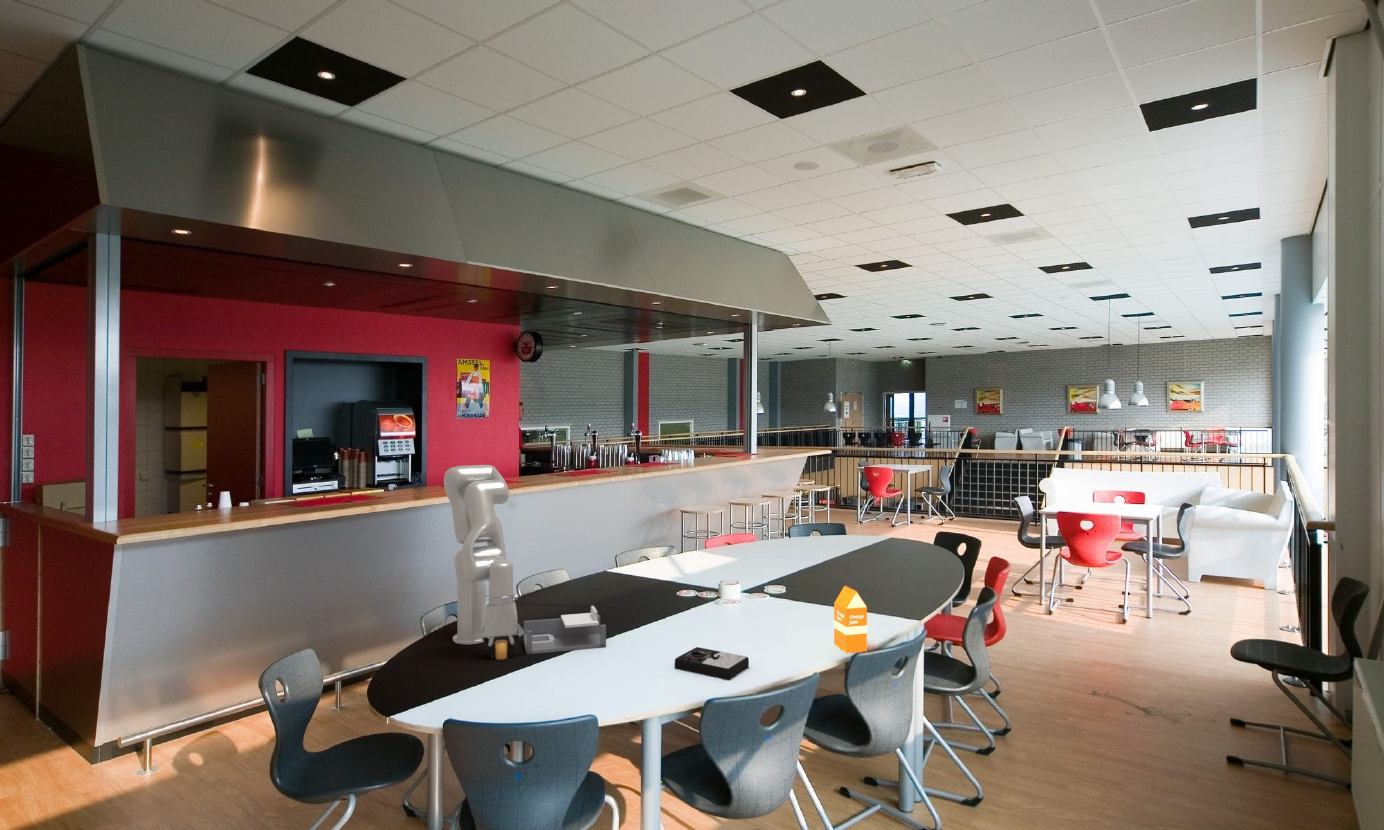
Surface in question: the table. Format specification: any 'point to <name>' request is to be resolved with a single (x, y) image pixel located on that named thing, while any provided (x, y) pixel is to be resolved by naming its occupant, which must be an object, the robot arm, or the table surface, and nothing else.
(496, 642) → the peg
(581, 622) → the lid
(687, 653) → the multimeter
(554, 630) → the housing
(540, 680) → the table surface
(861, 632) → the orange juice
